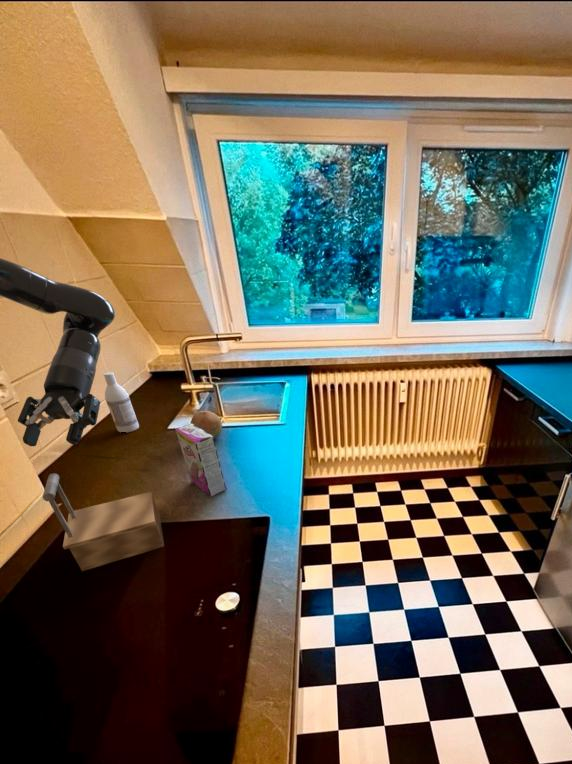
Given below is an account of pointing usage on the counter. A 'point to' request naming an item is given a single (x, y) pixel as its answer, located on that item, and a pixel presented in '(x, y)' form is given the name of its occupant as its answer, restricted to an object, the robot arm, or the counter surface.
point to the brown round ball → (208, 422)
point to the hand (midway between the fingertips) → (50, 443)
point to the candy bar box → (201, 459)
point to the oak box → (120, 545)
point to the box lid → (100, 516)
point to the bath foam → (120, 405)
